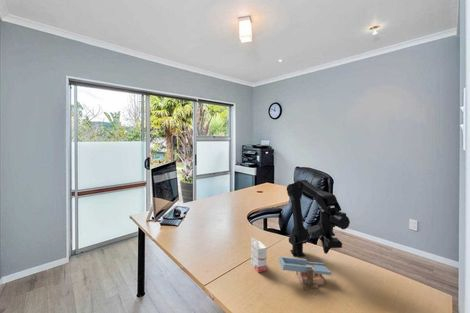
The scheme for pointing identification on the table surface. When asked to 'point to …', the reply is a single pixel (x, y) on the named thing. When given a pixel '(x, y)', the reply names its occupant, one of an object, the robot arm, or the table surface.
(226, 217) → the table surface
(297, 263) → the lever
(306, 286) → the stand
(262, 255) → the ink cartridge box
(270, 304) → the table surface
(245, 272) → the table surface
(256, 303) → the table surface
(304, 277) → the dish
